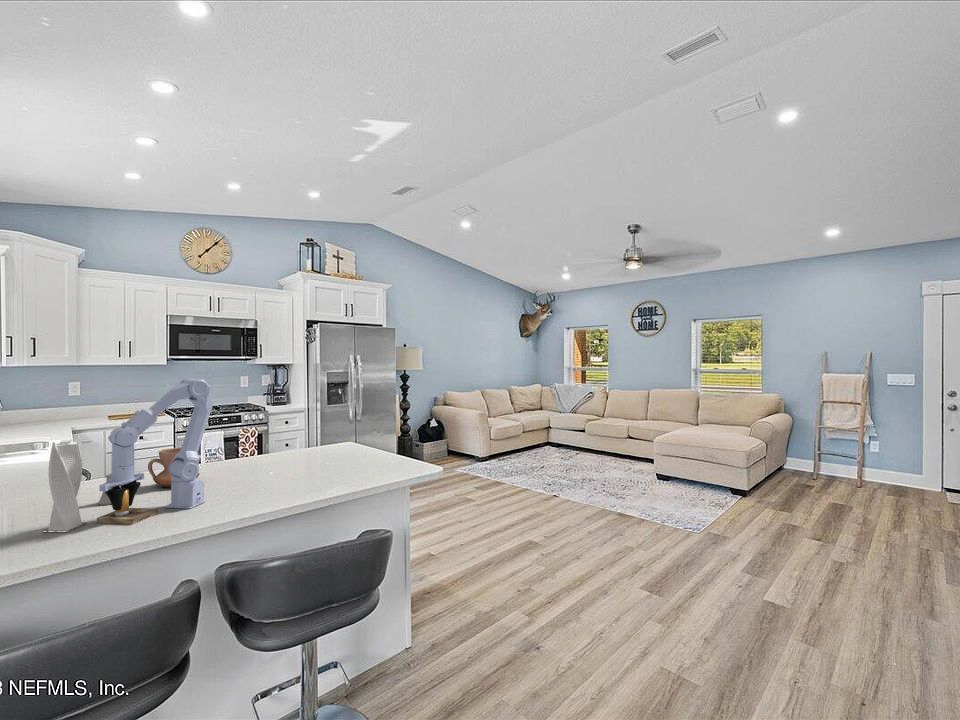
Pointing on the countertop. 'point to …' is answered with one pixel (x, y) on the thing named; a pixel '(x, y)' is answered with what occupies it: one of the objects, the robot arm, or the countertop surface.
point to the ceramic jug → (165, 460)
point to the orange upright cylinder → (124, 505)
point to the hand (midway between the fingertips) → (122, 507)
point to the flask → (104, 498)
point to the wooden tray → (128, 516)
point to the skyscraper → (65, 485)
